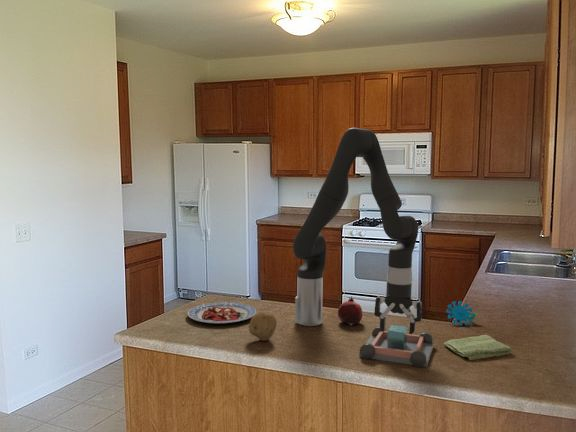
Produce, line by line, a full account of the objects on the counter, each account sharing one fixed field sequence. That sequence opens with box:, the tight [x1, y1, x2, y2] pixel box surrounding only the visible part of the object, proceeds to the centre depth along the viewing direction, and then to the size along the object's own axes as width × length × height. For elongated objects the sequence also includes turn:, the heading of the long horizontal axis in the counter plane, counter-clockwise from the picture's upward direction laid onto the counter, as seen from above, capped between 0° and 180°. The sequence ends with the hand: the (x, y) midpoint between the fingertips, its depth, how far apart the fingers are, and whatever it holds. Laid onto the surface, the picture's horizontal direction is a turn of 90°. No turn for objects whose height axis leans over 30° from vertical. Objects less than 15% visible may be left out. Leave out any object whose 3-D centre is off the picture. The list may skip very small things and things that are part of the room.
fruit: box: [337, 295, 363, 327], centre depth 189 cm, size 9×10×10 cm
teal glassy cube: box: [387, 324, 408, 350], centre depth 162 cm, size 5×6×6 cm
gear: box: [445, 300, 478, 327], centre depth 192 cm, size 11×6×10 cm
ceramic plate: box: [187, 301, 257, 325], centre depth 197 cm, size 26×26×3 cm
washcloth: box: [443, 334, 513, 361], centre depth 164 cm, size 13×18×3 cm
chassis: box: [358, 325, 434, 368], centre depth 162 cm, size 20×19×4 cm
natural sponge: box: [248, 310, 278, 342], centre depth 171 cm, size 9×9×10 cm
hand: (397, 331), depth 161 cm, fingers open, 8 cm apart
